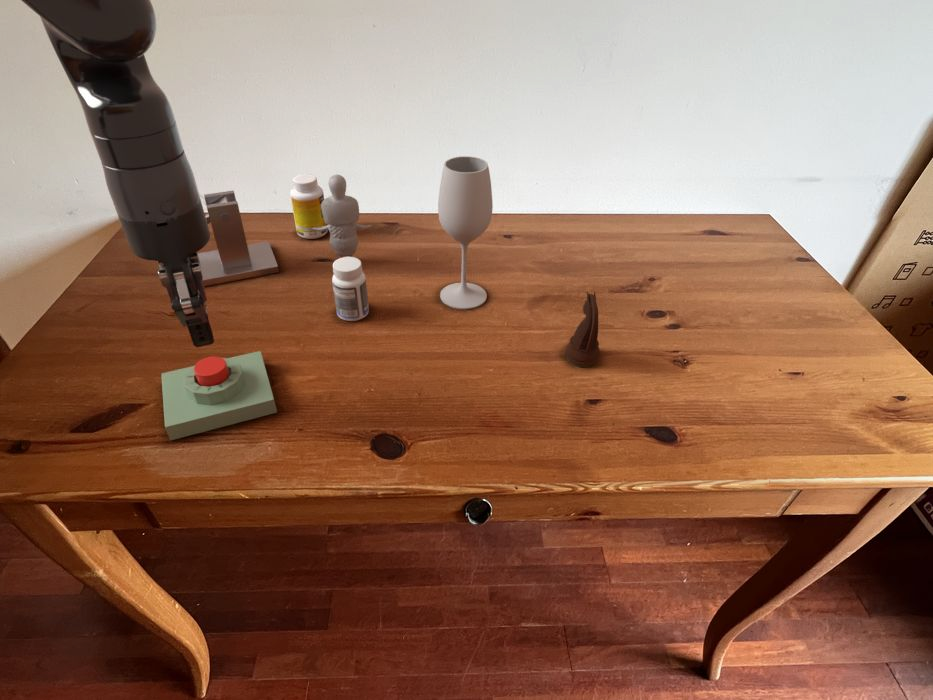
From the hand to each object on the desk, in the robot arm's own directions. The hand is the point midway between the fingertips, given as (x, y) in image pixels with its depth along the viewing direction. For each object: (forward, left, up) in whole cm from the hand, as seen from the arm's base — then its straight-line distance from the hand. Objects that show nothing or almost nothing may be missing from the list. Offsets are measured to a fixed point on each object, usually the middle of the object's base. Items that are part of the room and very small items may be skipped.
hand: (204, 342), depth 69 cm
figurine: (+23, +27, -9) cm, 36 cm away
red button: (0, 0, -5) cm, 5 cm away
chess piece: (+46, -10, -9) cm, 48 cm away
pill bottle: (+20, +12, -9) cm, 25 cm away
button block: (0, 0, -9) cm, 9 cm away
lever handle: (+2, +32, -2) cm, 32 cm away
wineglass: (+37, +10, -9) cm, 39 cm away
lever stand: (+6, +32, -9) cm, 34 cm away
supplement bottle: (+20, +39, -9) cm, 45 cm away
